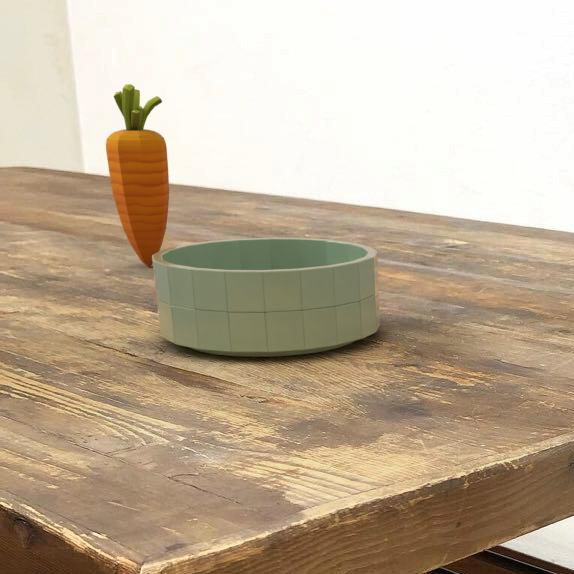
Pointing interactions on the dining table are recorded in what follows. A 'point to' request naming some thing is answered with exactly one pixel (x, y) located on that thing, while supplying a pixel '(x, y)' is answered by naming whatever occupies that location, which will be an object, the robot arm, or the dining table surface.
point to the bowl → (267, 295)
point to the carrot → (139, 175)
